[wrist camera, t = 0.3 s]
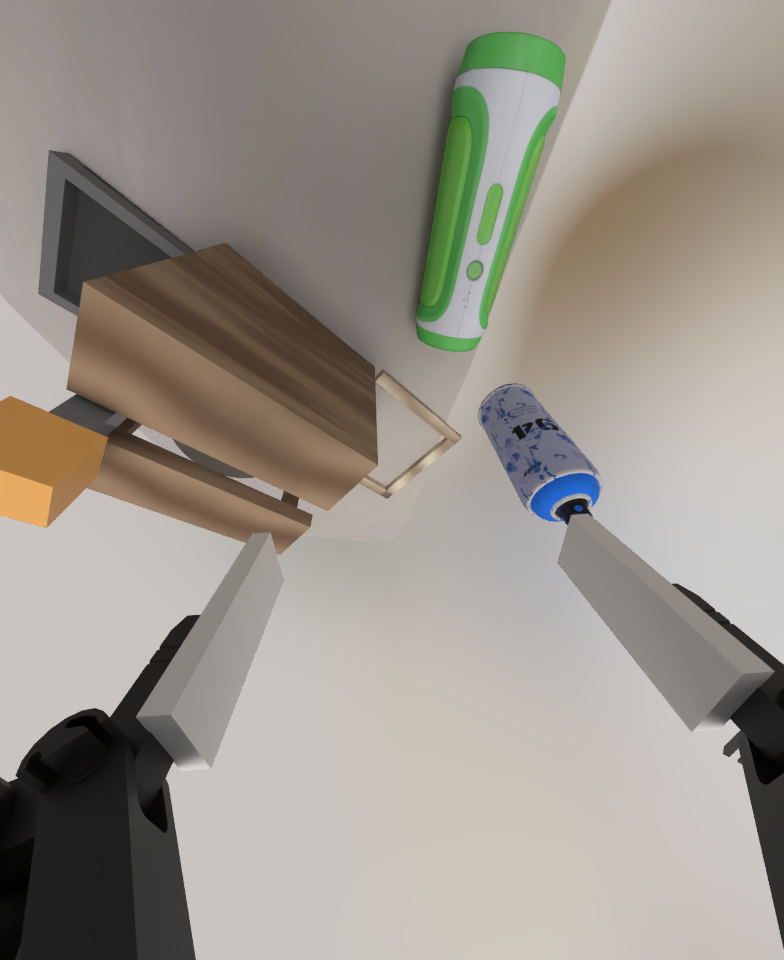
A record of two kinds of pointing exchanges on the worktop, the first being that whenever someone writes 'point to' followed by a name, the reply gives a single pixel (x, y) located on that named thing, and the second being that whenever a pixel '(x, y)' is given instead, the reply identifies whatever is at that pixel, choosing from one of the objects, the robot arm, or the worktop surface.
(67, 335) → the worktop surface
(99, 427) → the slider
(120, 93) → the worktop surface
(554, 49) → the speaker
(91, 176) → the tray
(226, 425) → the walnut tunnel
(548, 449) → the aerosol can
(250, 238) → the worktop surface
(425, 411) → the frame
